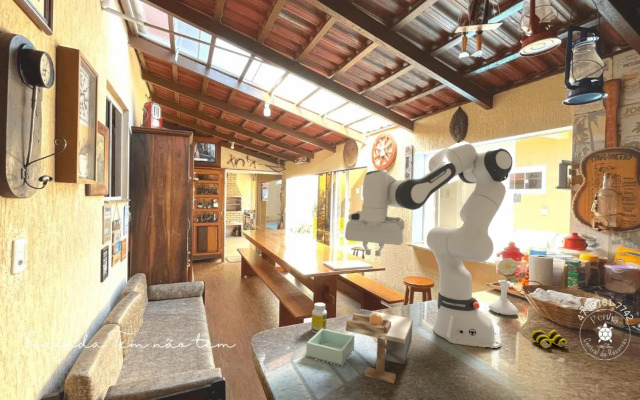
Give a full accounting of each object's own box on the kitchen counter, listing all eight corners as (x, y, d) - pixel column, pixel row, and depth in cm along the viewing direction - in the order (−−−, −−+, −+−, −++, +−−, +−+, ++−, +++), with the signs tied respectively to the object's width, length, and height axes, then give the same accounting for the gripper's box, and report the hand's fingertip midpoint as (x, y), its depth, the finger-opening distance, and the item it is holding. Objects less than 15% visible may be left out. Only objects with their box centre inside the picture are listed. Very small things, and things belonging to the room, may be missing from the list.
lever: (411, 341, 102) (412, 313, 101) (403, 365, 87) (404, 333, 87) (360, 330, 108) (361, 304, 108) (344, 350, 94) (346, 321, 94)
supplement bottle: (324, 334, 113) (325, 307, 113) (309, 333, 114) (310, 306, 114) (327, 328, 118) (328, 302, 118) (313, 326, 119) (314, 301, 119)
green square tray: (354, 349, 103) (354, 335, 103) (341, 366, 92) (342, 351, 92) (321, 341, 108) (321, 328, 108) (306, 357, 97) (306, 342, 97)
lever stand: (406, 347, 105) (407, 314, 105) (393, 383, 85) (395, 343, 85) (382, 342, 109) (383, 310, 108) (364, 375, 88) (365, 336, 88)
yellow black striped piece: (540, 351, 108) (543, 338, 107) (529, 341, 113) (532, 328, 112) (566, 350, 109) (569, 338, 108) (554, 340, 114) (557, 328, 113)
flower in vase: (482, 308, 146) (485, 253, 145) (506, 307, 147) (508, 254, 146) (502, 319, 133) (505, 260, 132) (527, 319, 134) (530, 260, 133)
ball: (384, 326, 95) (384, 312, 95) (380, 331, 91) (381, 317, 91) (371, 323, 97) (371, 310, 97) (367, 328, 93) (367, 314, 93)
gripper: (406, 217, 110) (404, 257, 110) (350, 213, 118) (348, 250, 119) (403, 218, 104) (401, 260, 104) (344, 214, 112) (342, 253, 113)
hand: (372, 255), depth 112 cm, fingers open, 2 cm apart
